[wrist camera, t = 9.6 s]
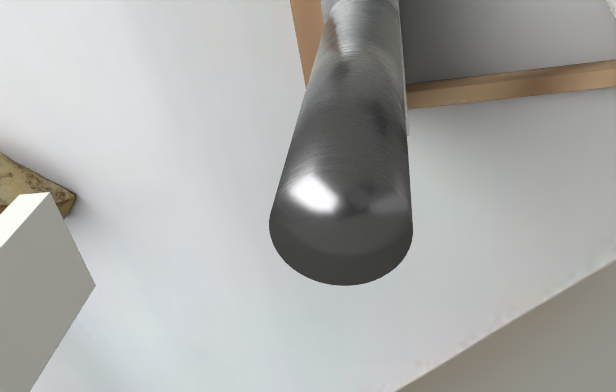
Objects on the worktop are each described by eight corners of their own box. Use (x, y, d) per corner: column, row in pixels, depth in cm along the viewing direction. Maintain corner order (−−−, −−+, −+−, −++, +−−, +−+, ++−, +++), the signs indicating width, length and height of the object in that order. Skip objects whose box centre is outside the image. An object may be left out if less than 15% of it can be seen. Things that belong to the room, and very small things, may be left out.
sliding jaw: (386, -133, 27) (388, -28, 9) (404, 69, 33) (427, 387, 15) (323, -121, 28) (210, 0, 10) (351, 76, 33) (309, 390, 15)
